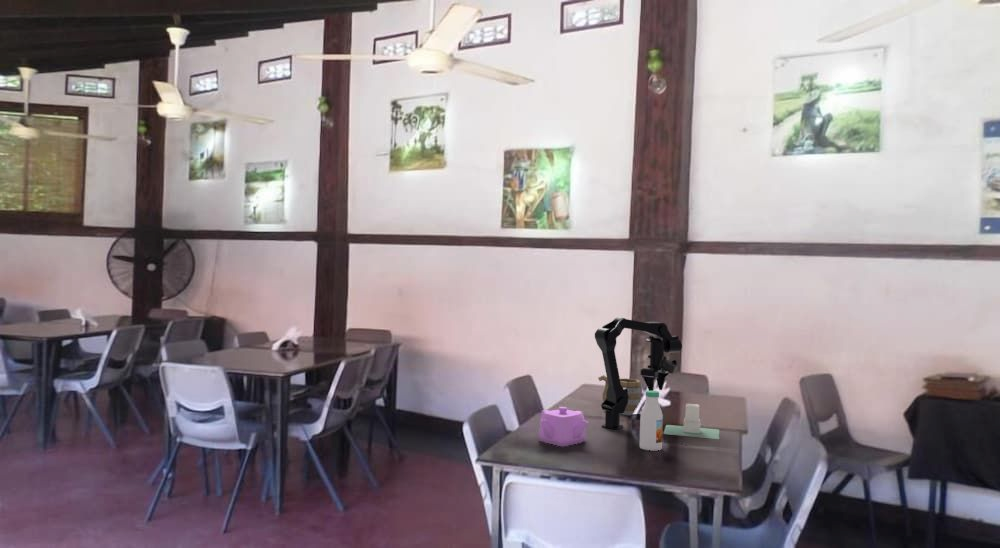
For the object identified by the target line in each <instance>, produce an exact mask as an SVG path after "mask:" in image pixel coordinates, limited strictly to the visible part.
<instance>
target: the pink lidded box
mask: <svg viewBox="0 0 1000 548" xmlns="http://www.w3.org/2000/svg"><path fill="white" fill-rule="evenodd" d="M539 422H540V424H539V427H538V428H539V429H538V439H539V441H540V440H542V441H545V442H548V443H552V444H556V445H559V446H566V445H572V444H576V443H579V444H581V443H580V442H582V443H584V442H585V440H586V436H587V435H586V434H587V433H586V430H587V429H586V428H587V426H588V425H589V421H588V420H586V419H585V417H584V412H583V411H582V410H581V411H580V410H575V411H574V410H571V409H568V407H567V406H559V407H558V409H553V410H547V409H545V410H544V409H543V410H541V413H540V420H539ZM583 441H584V442H583ZM576 445H577V444H576ZM572 446H573V445H572Z"/></svg>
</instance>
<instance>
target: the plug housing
mask: <svg viewBox="0 0 1000 548" xmlns="http://www.w3.org/2000/svg"><path fill="white" fill-rule="evenodd" d="M682 426H683V432H689V433H700V428H701V419H700V404H699V403H698V404H697V403H685V416H684V417H683V425H682Z"/></svg>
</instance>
